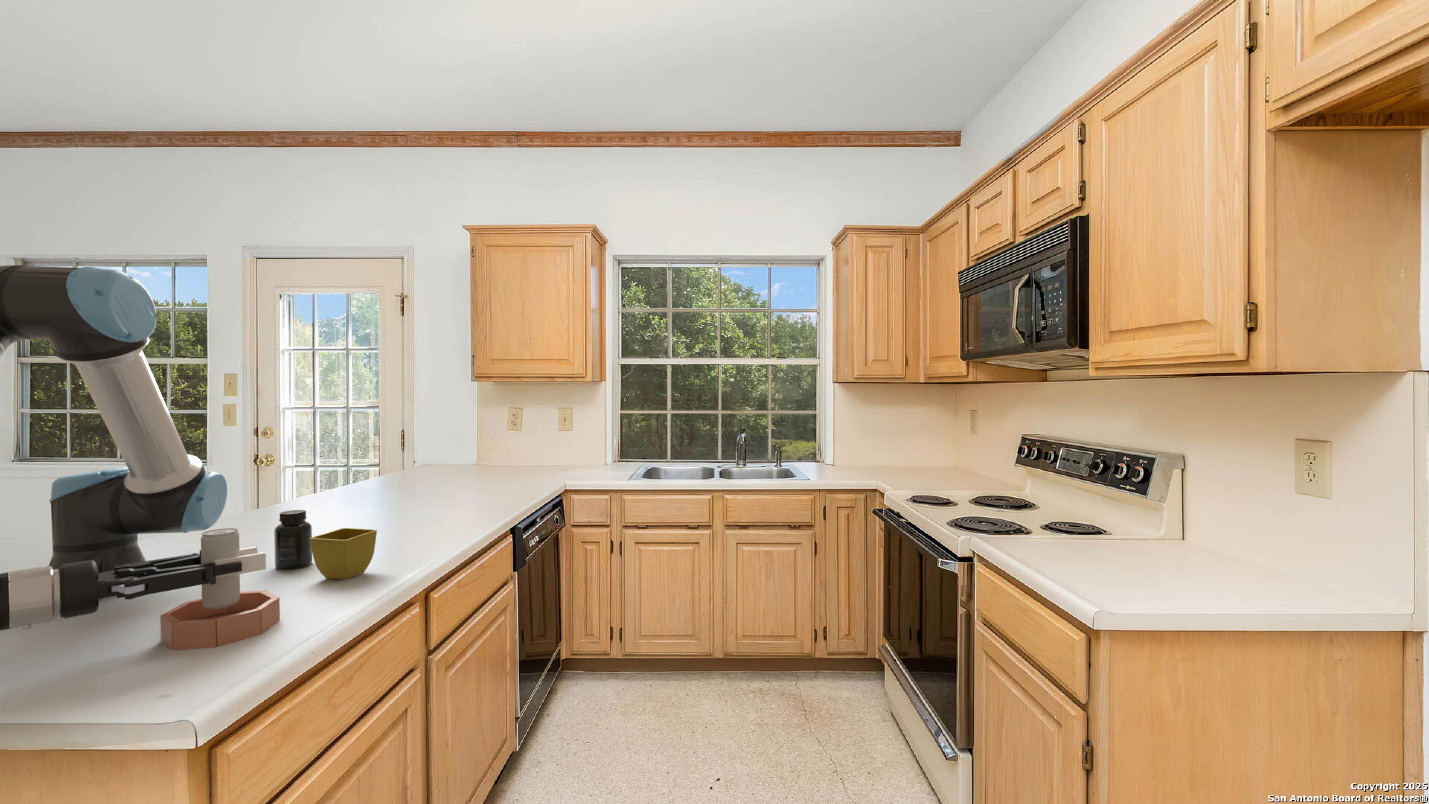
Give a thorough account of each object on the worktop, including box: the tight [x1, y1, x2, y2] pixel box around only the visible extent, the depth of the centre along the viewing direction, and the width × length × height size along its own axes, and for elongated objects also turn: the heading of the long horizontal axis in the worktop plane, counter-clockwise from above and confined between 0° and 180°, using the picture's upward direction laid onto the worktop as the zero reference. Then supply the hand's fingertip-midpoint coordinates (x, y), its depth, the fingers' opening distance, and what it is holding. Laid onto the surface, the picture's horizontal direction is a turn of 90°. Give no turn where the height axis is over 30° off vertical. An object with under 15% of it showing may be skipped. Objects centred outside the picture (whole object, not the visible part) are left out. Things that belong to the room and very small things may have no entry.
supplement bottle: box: [273, 509, 313, 570], centre depth 134 cm, size 7×7×12 cm
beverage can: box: [200, 527, 241, 610], centre depth 98 cm, size 5×5×12 cm
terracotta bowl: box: [159, 590, 281, 651], centre depth 99 cm, size 14×14×4 cm
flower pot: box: [310, 527, 378, 581], centre depth 127 cm, size 9×9×9 cm
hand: (260, 557), depth 102 cm, fingers closed on beverage can, 5 cm apart
